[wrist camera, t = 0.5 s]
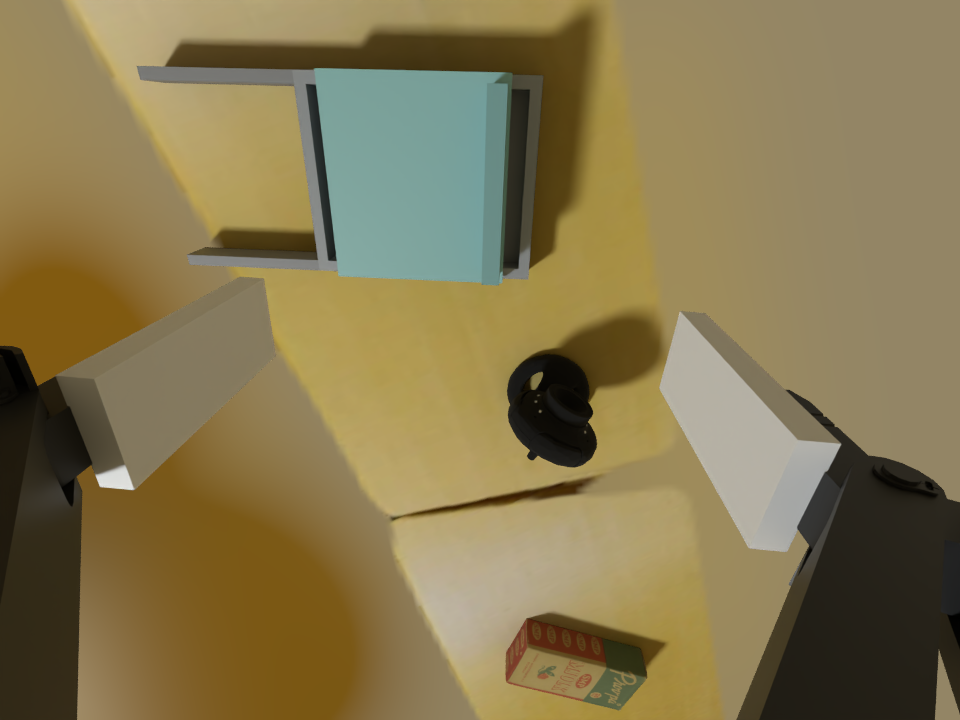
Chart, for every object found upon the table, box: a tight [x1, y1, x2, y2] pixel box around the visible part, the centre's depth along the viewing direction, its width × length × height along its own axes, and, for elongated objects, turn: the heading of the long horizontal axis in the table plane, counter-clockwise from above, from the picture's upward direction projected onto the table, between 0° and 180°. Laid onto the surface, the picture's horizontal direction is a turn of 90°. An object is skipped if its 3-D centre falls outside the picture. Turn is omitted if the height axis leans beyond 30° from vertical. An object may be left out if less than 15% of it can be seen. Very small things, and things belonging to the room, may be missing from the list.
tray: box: [137, 66, 543, 279], centre depth 35 cm, size 14×27×2 cm, turn 89°
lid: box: [314, 68, 512, 285], centre depth 31 cm, size 14×13×4 cm
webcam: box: [507, 355, 597, 467], centre depth 39 cm, size 8×8×10 cm
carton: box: [506, 619, 647, 710], centre depth 60 cm, size 8×16×4 cm, turn 73°
